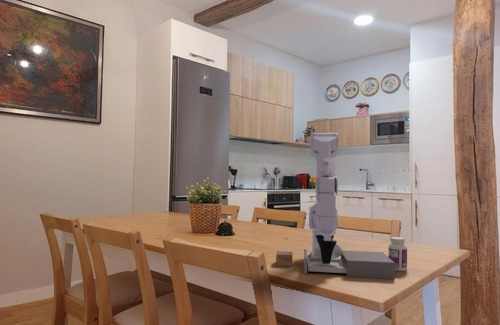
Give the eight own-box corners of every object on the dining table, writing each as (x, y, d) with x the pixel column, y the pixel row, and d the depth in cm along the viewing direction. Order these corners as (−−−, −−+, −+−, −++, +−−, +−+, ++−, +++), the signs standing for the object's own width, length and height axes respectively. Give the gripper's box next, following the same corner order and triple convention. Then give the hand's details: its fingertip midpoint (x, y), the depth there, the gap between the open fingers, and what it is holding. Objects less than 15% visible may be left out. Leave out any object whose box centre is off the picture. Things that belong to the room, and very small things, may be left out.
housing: (340, 264, 118) (340, 250, 118) (382, 266, 116) (382, 252, 116) (346, 276, 104) (347, 260, 104) (394, 279, 102) (394, 262, 102)
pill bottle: (402, 267, 116) (402, 236, 117) (410, 271, 111) (410, 239, 111) (385, 266, 116) (385, 236, 117) (392, 271, 111) (392, 239, 111)
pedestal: (276, 261, 120) (277, 251, 120) (292, 262, 119) (292, 251, 119) (276, 265, 115) (276, 254, 115) (292, 266, 114) (292, 255, 114)
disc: (312, 257, 114) (312, 253, 115) (338, 261, 114) (337, 256, 115) (317, 243, 108) (317, 238, 109) (344, 246, 108) (344, 242, 109)
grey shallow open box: (303, 262, 119) (303, 249, 119) (344, 264, 117) (344, 251, 118) (304, 273, 106) (304, 258, 106) (350, 275, 104) (350, 261, 104)
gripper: (311, 213, 120) (310, 254, 119) (313, 218, 105) (313, 265, 105) (333, 213, 119) (333, 255, 118) (338, 219, 104) (338, 267, 104)
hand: (325, 260), depth 112 cm, fingers closed on disc, 6 cm apart
